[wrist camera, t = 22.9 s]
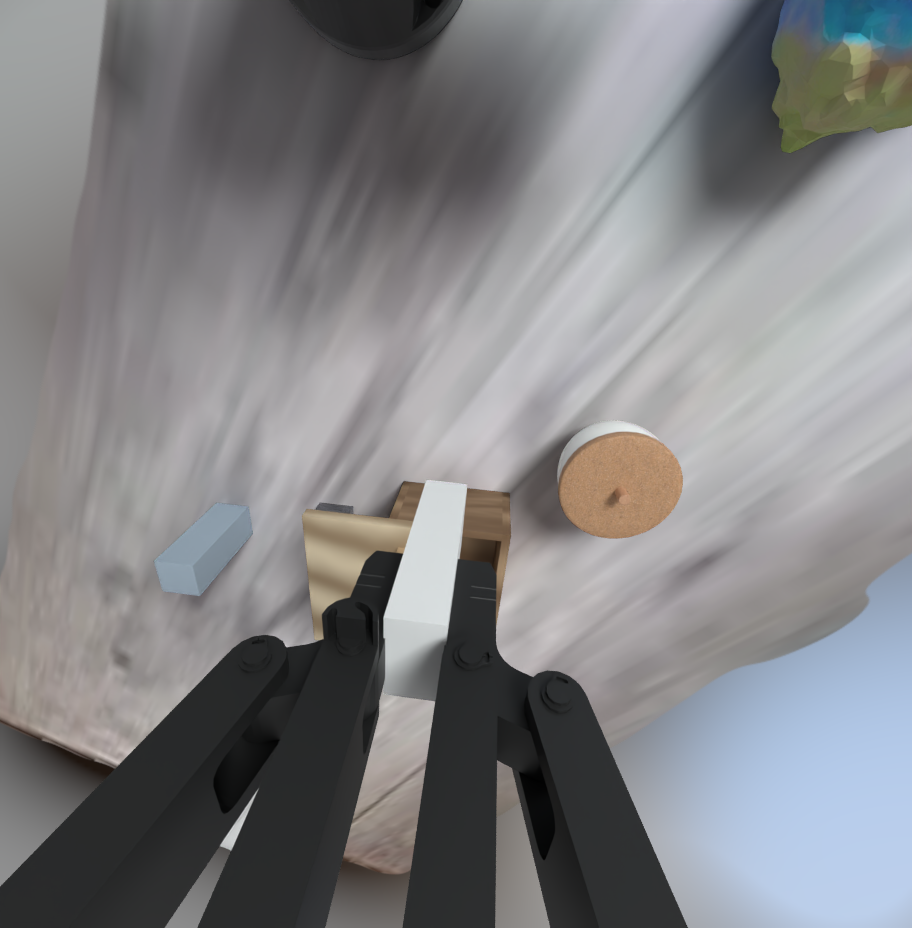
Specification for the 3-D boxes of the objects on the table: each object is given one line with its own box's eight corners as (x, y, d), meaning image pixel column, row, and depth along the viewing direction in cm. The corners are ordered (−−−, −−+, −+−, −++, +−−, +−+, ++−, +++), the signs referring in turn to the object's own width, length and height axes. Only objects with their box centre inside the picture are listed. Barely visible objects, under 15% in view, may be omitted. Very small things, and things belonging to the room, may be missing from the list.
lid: (306, 508, 43) (288, 534, 40) (434, 523, 43) (428, 550, 39) (318, 631, 51) (304, 662, 47) (426, 645, 50) (420, 677, 47)
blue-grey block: (216, 502, 54) (153, 560, 44) (248, 506, 54) (192, 565, 44) (221, 529, 56) (162, 591, 46) (252, 533, 56) (199, 595, 46)
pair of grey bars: (319, 502, 53) (316, 508, 52) (353, 506, 52) (349, 512, 51) (323, 553, 56) (320, 559, 55) (354, 557, 56) (352, 563, 55)
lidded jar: (546, 495, 49) (555, 547, 41) (555, 403, 45) (568, 441, 36) (645, 499, 48) (675, 553, 40) (666, 406, 44) (704, 445, 35)
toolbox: (403, 481, 50) (387, 521, 43) (509, 493, 50) (510, 535, 43) (401, 588, 58) (387, 637, 50) (493, 599, 57) (492, 650, 50)
